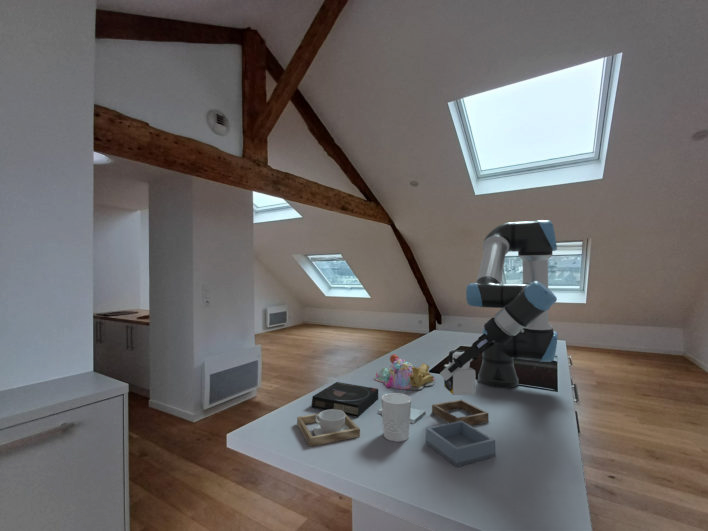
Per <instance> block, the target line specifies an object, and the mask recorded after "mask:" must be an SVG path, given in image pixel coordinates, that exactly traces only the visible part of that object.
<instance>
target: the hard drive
mask: <svg viewBox="0 0 708 531" xmlns="http://www.w3.org/2000/svg"><path fill="white" fill-rule="evenodd" d="M426 413H427V412H426V411H425V410H422V409H418V408H417V409H416V408H415V407H414V408H413V407H411V414H410V424H411V423H412V424H417V422H419V420H420V419H422V418H423V417H424V416H425V415H426ZM377 414H379V415H382V407H381V408H379V409H377Z"/></svg>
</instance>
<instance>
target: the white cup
mask: <svg viewBox="0 0 708 531" xmlns="http://www.w3.org/2000/svg"><path fill="white" fill-rule="evenodd" d="M381 408H382V414H381V417H382V418H381V419H382V425H383V426H382V428H383V429H382V431H383V434H382V435H383V436H384V438H385V439H386V440H388V441H389V442H390V441H391V442H396V443H397V442H399V443H400V442H404V441H407V440H408V439H409V435H410V427H411V422H410V414H411V408H412V398H411V397H410V396H409V395H407V394H404V393H398V392H390V393H385V394H383V395H382V396H381Z"/></svg>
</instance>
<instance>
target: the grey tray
mask: <svg viewBox="0 0 708 531" xmlns="http://www.w3.org/2000/svg"><path fill="white" fill-rule="evenodd" d="M425 443H426V444H427V445H428V446H429V447H431V448H432V449H433V450H435V451H436V452H437V453H439V454H440V455H441V456H442V457H443V458H445V459H446V460H447V459H448V460H447V461H448V462H450V463H451V464H453V466H455V467H456V468H457V467H461V466H465V465H468V464H473V463H476V462H480V461H483V460H486V459H490V458H494V457H496V439H494V438H492V437H491V436H489V435H488V434H486V433H484V432H482V431H481V430H479V429H478V428H476V427H474V426H473V425H471V426H470V425H469V424H467V423H465V422H464V421H462V420H461V421H457V422H452V423H448V422H446V423H443V424H438V425H437V424H436V425H432V426H428V427H425Z"/></svg>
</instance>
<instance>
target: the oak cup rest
mask: <svg viewBox="0 0 708 531" xmlns="http://www.w3.org/2000/svg"><path fill="white" fill-rule="evenodd" d="M341 411H342V410H341ZM317 415H319V413H315V414H313V413H312V414H308V415H307V414H306V415H301V416H297V417H296V418H297V421H296V424H297V426H298V428H299V430H300V432H301V433H302V435H303V437H304V438H305V440H306V442H307V443H308V446H309V447H314V446H321V445H326V444H330V443H335V442H340V441H345V440H349V439H350V440H351V439H353V438H354V439H355V438H359V437H360V436H361V429H360V427H359V426H357V424H356V423H355V422H354V421H353V420H352V419H351V418H350V416H349V415H346V416H345V423H344V424H345V425H347V426H348V427H349V428H350V429H349V430H344V431H339V432H333V433H328V434H323V435H317V436H316V435H314V436H313V435H312V433H311V432H310V430H309V429H308V427H307V425H308V424H313V423H316V421H315V417H316V416H317ZM317 419H318V421H319V418H318V417H317ZM306 424H307V425H306ZM360 438H361V437H360Z"/></svg>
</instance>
